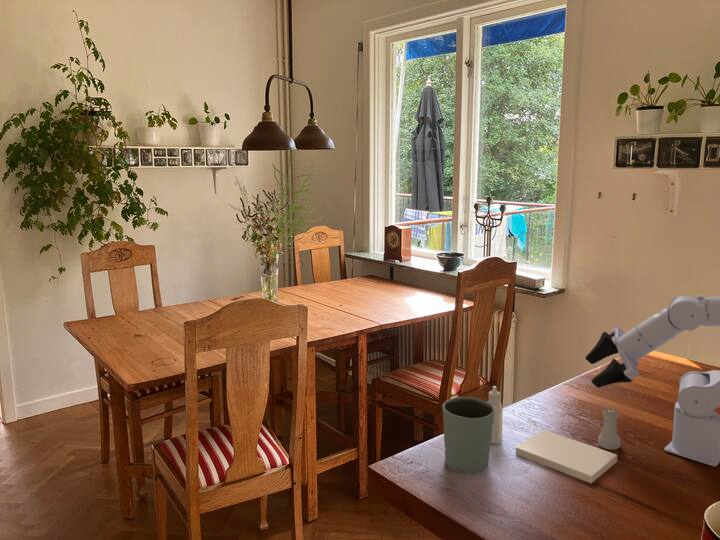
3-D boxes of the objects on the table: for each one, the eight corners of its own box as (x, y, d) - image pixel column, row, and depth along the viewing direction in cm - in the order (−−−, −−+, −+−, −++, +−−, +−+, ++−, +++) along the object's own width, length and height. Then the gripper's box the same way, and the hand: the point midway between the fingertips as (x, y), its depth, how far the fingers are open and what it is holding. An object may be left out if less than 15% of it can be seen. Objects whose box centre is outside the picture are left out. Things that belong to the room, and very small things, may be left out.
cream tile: (616, 461, 116) (617, 454, 115) (591, 483, 108) (591, 476, 108) (543, 435, 127) (543, 429, 127) (515, 454, 120) (515, 447, 120)
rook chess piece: (622, 443, 123) (624, 408, 121) (618, 452, 119) (620, 416, 118) (599, 438, 125) (601, 403, 124) (595, 447, 122) (597, 411, 120)
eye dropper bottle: (509, 437, 127) (510, 385, 125) (496, 446, 123) (497, 393, 121) (491, 431, 130) (491, 380, 128) (478, 440, 126) (478, 388, 124)
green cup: (440, 450, 122) (440, 396, 120) (488, 450, 122) (489, 396, 120) (445, 476, 112) (445, 418, 110) (498, 475, 112) (499, 417, 110)
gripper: (624, 306, 125) (573, 340, 131) (641, 348, 112) (584, 384, 119) (646, 325, 126) (594, 358, 133) (665, 369, 114) (607, 403, 121)
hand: (591, 372), depth 126 cm, fingers open, 7 cm apart
